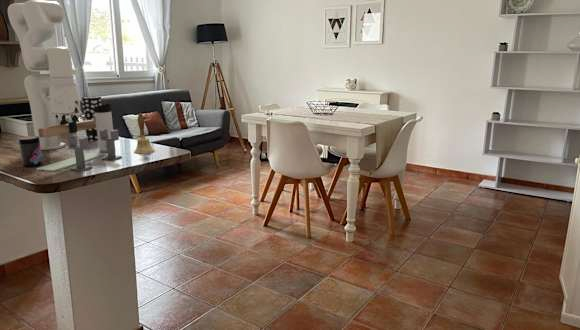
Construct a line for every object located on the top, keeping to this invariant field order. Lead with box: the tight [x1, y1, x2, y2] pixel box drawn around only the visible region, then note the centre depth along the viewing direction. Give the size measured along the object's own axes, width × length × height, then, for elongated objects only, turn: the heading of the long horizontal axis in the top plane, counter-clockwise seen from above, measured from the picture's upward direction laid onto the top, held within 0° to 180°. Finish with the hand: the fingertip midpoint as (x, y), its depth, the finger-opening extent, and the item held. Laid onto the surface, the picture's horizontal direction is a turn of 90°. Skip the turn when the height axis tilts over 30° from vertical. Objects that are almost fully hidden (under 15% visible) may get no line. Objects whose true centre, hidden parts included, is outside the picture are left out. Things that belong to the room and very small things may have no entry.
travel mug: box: [94, 103, 116, 154], centre depth 181 cm, size 6×7×20 cm
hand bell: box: [133, 113, 155, 155], centre depth 181 cm, size 8×8×16 cm
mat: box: [36, 152, 107, 172], centre depth 166 cm, size 8×26×1 cm, turn 162°
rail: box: [38, 120, 96, 138], centre depth 163 cm, size 3×24×3 cm, turn 162°
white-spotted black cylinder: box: [81, 96, 103, 142], centre depth 207 cm, size 8×8×20 cm
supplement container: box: [17, 135, 44, 168], centre depth 161 cm, size 7×7×10 cm
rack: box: [66, 129, 123, 173], centre depth 161 cm, size 6×21×11 cm, turn 162°
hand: (69, 132), depth 163 cm, fingers closed on rail, 3 cm apart
